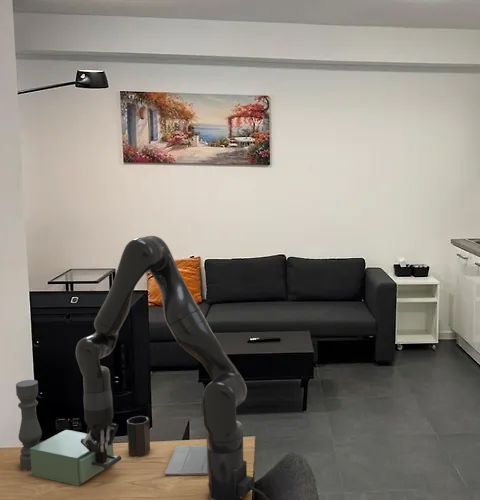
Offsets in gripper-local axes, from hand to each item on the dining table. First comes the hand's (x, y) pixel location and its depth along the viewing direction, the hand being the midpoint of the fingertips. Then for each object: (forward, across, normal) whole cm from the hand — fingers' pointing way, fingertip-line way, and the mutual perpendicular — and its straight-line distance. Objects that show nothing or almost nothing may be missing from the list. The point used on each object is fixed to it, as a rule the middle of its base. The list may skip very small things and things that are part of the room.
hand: (101, 462), depth 184 cm
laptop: (+4, +17, -18) cm, 25 cm away
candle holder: (+4, -2, +24) cm, 24 cm away
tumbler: (+4, +16, 0) cm, 16 cm away
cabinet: (+4, 0, +11) cm, 11 cm away
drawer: (+3, 0, +6) cm, 7 cm away
